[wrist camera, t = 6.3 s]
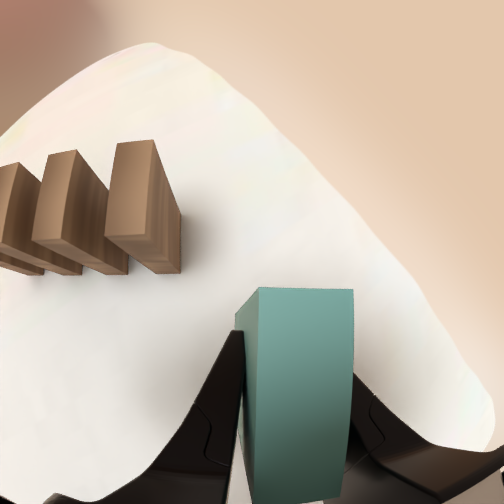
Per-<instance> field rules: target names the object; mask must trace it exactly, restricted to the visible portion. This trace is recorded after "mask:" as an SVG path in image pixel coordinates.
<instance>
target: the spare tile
mask: <svg viewBox="0 0 504 504" xmlns="http://www.w3.org/2000/svg"><path fill="white" fill-rule="evenodd" d="M235 330H243V331H244V340H245V353H246V364H245V372H244V381H243V389H242V398H241V405H240V413H239V421H238V431H239V437H240V443H241V448H242V454H243V459H244V465H245V470H246V475H247V480H248V486H249V491H250V496H251V500H252V504H301V503H308V502H315V501H321V500H327V499H332V498H337V497H340V493H341V487H342V481H343V474H344V468H345V460H346V452H347V444H348V435H349V424H350V413H351V399H352V382H353V355H354V299H353V289H306V288H268V287H259V288H258V289H257V290H256V291H255V292H254V294H253V295H252V296H251V297H250V298H249V299H248V300H247V302H246V303H245V304H244V305H243V306H242V307H241V308H240V309H239V311H238V312H237V313H236V314H235Z"/></svg>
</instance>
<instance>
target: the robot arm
mask: <svg viewBox="0 0 504 504" xmlns="http://www.w3.org/2000/svg"><path fill="white" fill-rule="evenodd" d="M245 364H246V353H245V340H244V331H243V330H232V331H231V332H230V334H229V336H228V338H227V340H226V342H225V343H224V345H223V347H222V349H221V351H220V353H219V355H218V357H217V359H216V361H215V363H214V365H213V367H212V369H211V371H210V372H209V374H208V376H207V378H206V380H205V382H204V384H203V386H202V388H201V390H200V392H199V393H198V395H197V397H196V399H195V401H194V403H193V405H192V406H191V408H190V410H189V412H188V414H187V416H186V417H185V419H184V421H183V422H182V424H181V425H180V427H179V428H178V430H177V431H176V433H175V434H174V436H173V437H172V438H171V440H170V441H169V442H168V443H167V445H166V446H165V447H164V449H163V450H162V451H161V452H160V454H159V455H158V456H157V458H156V459H155V460H154V461H153V463H152V464H151V465H150V466H149V467H148V468H147V469H146V470H145V471H144V472H143V473H142V474H141V475H139V476H138V477H137V478H135V479H133V480H132V481H130V482H129V483H127V484H126V485H124V486H122V487H121V488H119V489H118V490H116V491H114V492H113V493H111V494H109V495H108V496H106V497H104V498H103V499H100V500H98V501H94V502H83V501H79V500H76V499H74V498H71V497H68V496H65V495H62V494H59V493H54V494H53V495H51V496H50V497H49V498H48V499H47V500H46V501H45V502H44V503H43V504H227V503H228V496H229V488H230V481H231V474H232V466H233V459H234V451H235V444H236V436H237V428H238V421H239V413H240V405H241V398H242V389H243V381H244V372H245ZM503 466H504V445H502V446H500V447H499V448H497V449H496V450H494V451H491V452H474V451H467V450H460V449H454V448H448V447H442V446H437V445H434V444H432V443H430V442H428V441H427V440H425V439H424V438H422V437H421V436H420V435H419V434H417V433H416V432H415V431H414V430H412V429H411V428H410V427H409V426H408V425H406V424H405V423H404V422H403V421H402V420H400V419H399V418H398V417H397V416H396V415H395V414H394V413H392V412H391V411H390V410H389V409H388V408H387V407H386V406H385V405H384V404H383V403H382V402H381V401H380V400H379V399H378V398H377V397H376V396H375V395H374V394H373V393H372V392H371V390H370V389H369V388H368V387H367V386H366V385H365V384H364V383H363V382H362V381H361V380H360V379H359V378H358V377H357V376H356V375H355V374H354V373H353V382H352V399H351V413H350V424H349V435H348V444H347V452H346V460H345V468H344V474H343V481H342V487H341V493H340V497H337V498H332V499H327V500H323V503H324V504H504V471H503V472H500V468H501V467H503ZM0 504H16V503H14V502H12V501H10V500H9V499H7V498H5V497H3V496H1V495H0Z"/></svg>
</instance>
